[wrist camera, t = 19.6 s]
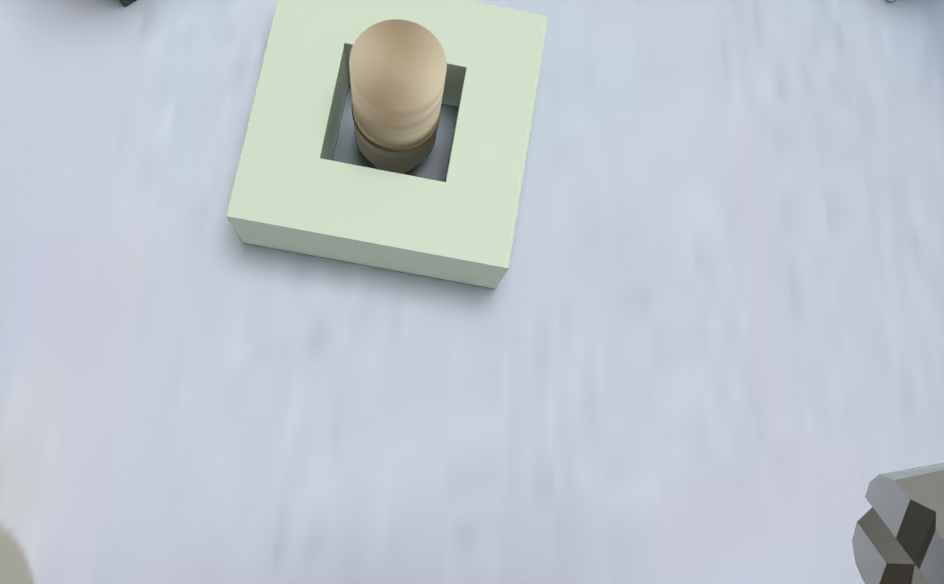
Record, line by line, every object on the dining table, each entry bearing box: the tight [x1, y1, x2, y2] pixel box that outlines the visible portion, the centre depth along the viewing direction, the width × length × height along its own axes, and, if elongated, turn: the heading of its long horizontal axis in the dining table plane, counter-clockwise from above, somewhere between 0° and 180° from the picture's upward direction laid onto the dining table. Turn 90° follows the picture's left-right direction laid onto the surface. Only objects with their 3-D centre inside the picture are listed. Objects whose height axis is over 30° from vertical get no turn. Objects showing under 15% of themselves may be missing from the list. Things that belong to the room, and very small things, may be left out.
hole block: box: [226, 0, 548, 289], centre depth 46 cm, size 14×14×5 cm
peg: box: [349, 19, 447, 174], centre depth 43 cm, size 4×4×10 cm
